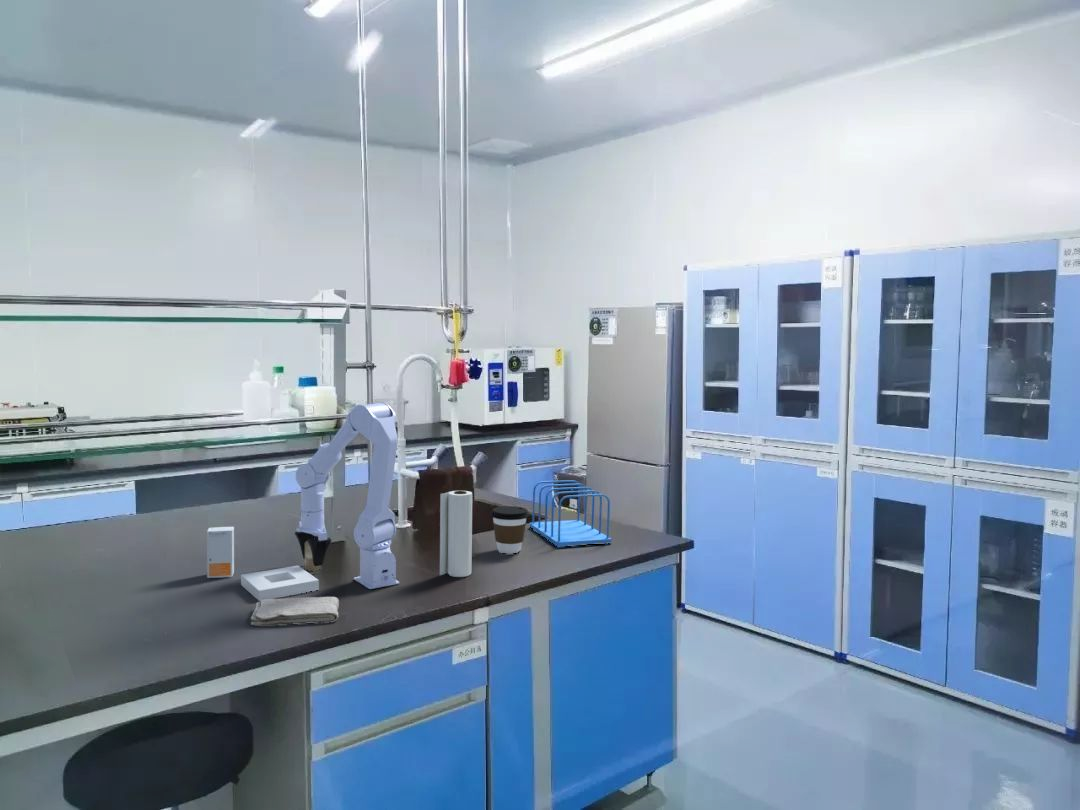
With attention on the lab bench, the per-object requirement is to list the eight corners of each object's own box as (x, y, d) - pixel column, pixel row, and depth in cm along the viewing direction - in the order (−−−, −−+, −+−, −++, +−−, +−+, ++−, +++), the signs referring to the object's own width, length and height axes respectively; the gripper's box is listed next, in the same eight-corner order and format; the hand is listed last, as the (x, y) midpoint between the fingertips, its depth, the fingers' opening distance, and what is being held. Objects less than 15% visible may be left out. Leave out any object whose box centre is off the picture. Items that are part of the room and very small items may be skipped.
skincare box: (206, 579, 195) (205, 531, 194) (209, 573, 199) (208, 527, 198) (233, 577, 197) (232, 530, 196) (234, 572, 201) (234, 526, 200)
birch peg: (323, 569, 205) (323, 543, 204) (308, 572, 202) (308, 545, 202) (317, 565, 208) (317, 539, 207) (302, 568, 205) (302, 541, 205)
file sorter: (611, 545, 235) (613, 494, 233) (557, 549, 229) (558, 497, 227) (579, 525, 258) (580, 478, 257) (529, 528, 252) (530, 480, 251)
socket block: (318, 590, 189) (318, 580, 188) (259, 601, 180) (259, 590, 180) (298, 575, 200) (298, 565, 199) (241, 584, 191) (240, 574, 191)
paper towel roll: (474, 572, 205) (475, 490, 203) (466, 578, 199) (467, 495, 197) (448, 569, 207) (449, 488, 205) (439, 576, 201) (440, 493, 199)
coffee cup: (515, 544, 232) (516, 504, 231) (535, 553, 223) (536, 511, 222) (483, 549, 227) (483, 508, 225) (502, 558, 217) (502, 516, 216)
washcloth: (256, 610, 176) (256, 596, 176) (339, 605, 180) (339, 592, 180) (249, 630, 165) (249, 615, 164) (338, 624, 169) (338, 610, 168)
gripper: (287, 506, 207) (287, 557, 208) (307, 517, 195) (308, 571, 197) (313, 503, 211) (314, 553, 213) (334, 514, 200) (335, 566, 201)
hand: (312, 561), depth 205 cm, fingers open, 7 cm apart
